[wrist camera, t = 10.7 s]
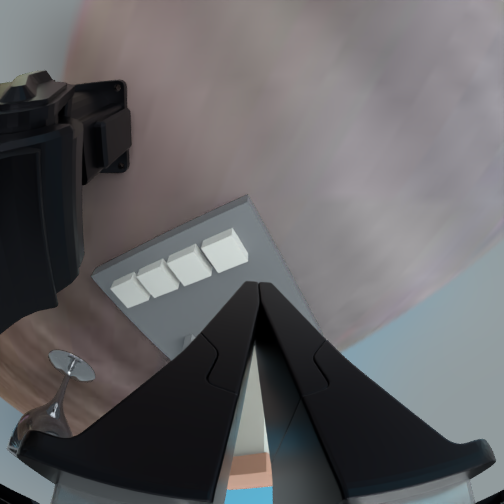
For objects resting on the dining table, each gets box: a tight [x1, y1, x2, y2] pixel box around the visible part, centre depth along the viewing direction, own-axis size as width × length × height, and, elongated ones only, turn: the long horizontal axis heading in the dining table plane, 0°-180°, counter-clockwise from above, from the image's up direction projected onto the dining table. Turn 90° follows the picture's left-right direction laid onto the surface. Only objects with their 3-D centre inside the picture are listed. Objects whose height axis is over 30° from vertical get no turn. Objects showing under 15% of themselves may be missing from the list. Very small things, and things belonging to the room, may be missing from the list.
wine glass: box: [7, 350, 95, 458], centre depth 30 cm, size 8×8×15 cm
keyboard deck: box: [91, 195, 323, 361], centre depth 27 cm, size 16×15×3 cm
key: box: [227, 346, 273, 490], centre depth 26 cm, size 5×6×12 cm
